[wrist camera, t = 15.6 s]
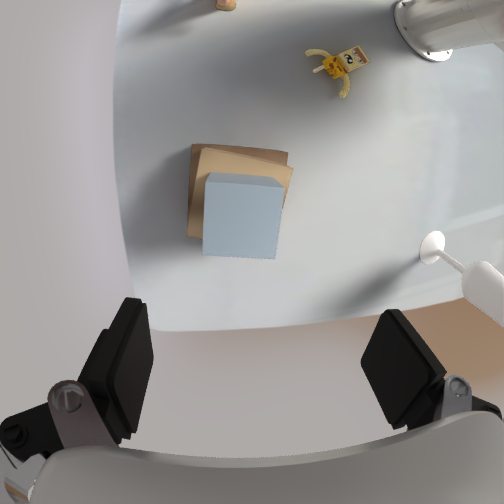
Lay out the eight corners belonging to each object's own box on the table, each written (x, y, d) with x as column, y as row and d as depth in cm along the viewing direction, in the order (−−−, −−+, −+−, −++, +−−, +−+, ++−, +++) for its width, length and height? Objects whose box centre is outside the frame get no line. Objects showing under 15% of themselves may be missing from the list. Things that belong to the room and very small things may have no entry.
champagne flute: (421, 270, 44) (503, 350, 22) (417, 240, 41) (514, 316, 19) (446, 254, 43) (529, 323, 21) (443, 224, 40) (539, 288, 18)
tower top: (206, 147, 29) (201, 149, 24) (283, 163, 30) (293, 168, 26) (192, 221, 32) (186, 236, 28) (265, 235, 34) (270, 251, 29)
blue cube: (211, 172, 25) (205, 181, 20) (273, 176, 26) (284, 188, 20) (207, 230, 28) (202, 255, 22) (266, 234, 28) (275, 259, 23)
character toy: (304, 49, 26) (350, 30, 24) (298, 56, 29) (341, 37, 27) (339, 101, 29) (382, 79, 27) (330, 103, 32) (371, 82, 30)
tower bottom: (197, 143, 33) (191, 144, 29) (280, 150, 34) (288, 152, 30) (192, 222, 37) (187, 235, 33) (270, 228, 39) (276, 241, 34)
